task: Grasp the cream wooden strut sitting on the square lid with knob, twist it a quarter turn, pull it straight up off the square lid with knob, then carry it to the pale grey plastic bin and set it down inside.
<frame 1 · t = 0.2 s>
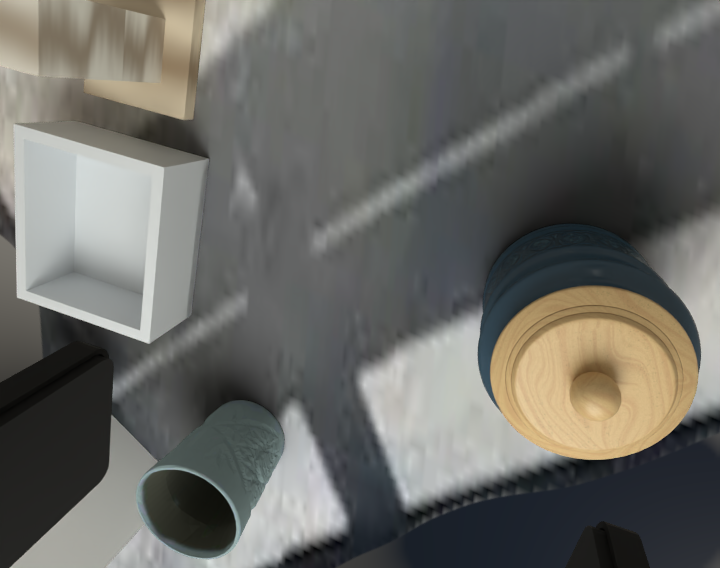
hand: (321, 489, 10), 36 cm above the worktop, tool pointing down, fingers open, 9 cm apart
canister: (563, 295, 44), on the worktop
strut: (136, 45, 45), point 1 cm above the worktop, touching square lid with knob
square lid with knob: (147, 46, 46), on the worktop
bin: (135, 221, 52), on the worktop
milk: (120, 472, 64), on the worktop
teal cup: (247, 434, 57), on the worktop
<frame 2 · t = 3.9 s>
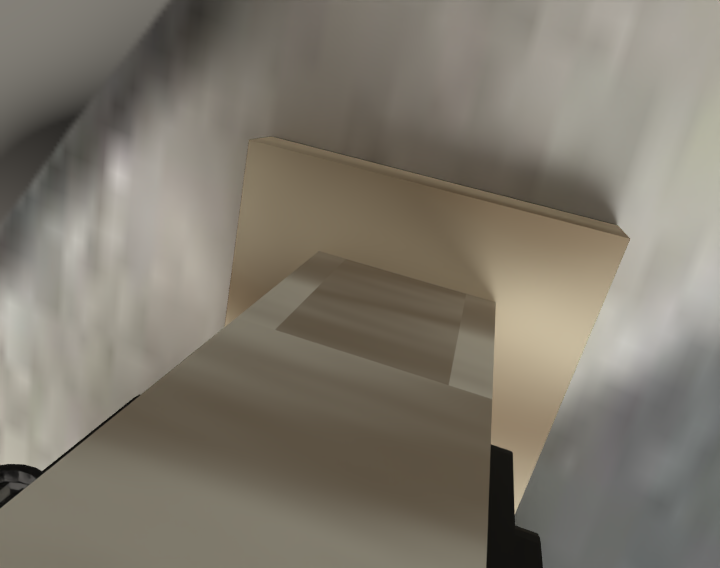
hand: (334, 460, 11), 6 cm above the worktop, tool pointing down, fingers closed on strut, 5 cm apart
strut: (384, 355, 15), point 2 cm above the worktop, touching gripper, square lid with knob
square lid with knob: (394, 334, 17), on the worktop
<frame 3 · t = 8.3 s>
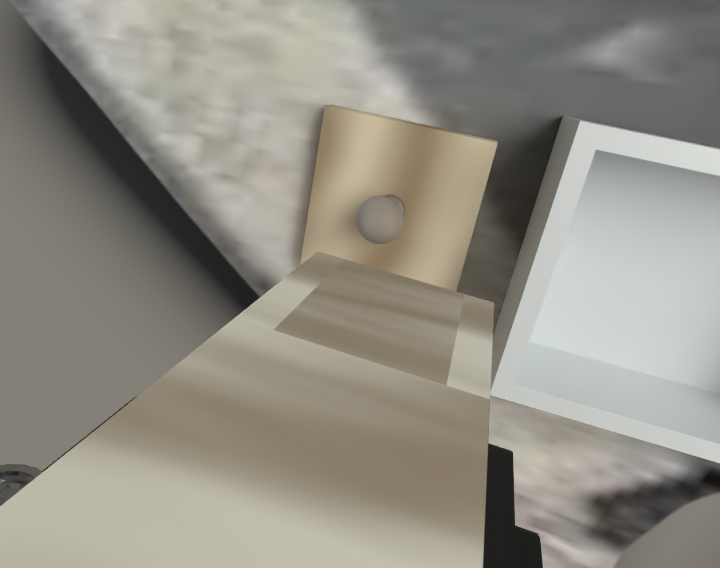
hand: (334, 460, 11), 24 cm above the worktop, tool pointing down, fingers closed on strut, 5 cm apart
strut: (383, 355, 15), point 19 cm above the worktop, touching gripper
square lid with knob: (395, 204, 33), on the worktop
bin: (664, 271, 30), on the worktop
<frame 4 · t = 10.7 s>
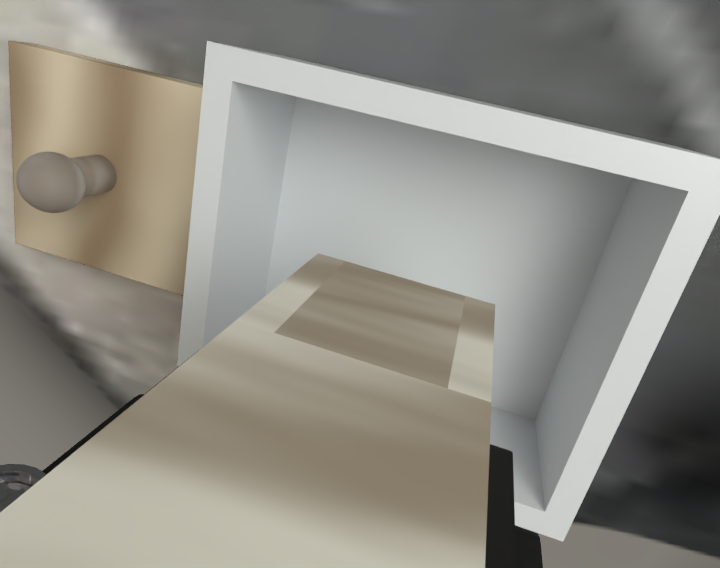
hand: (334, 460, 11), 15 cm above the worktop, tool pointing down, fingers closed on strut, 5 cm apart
strut: (383, 357, 15), point 10 cm above the worktop, touching gripper
square lid with knob: (120, 169, 27), on the worktop
bin: (425, 254, 25), on the worktop
when the fingers open (8 cm above the worktop, at t = 12.8 s): strut drops 2 cm, resting on bin.
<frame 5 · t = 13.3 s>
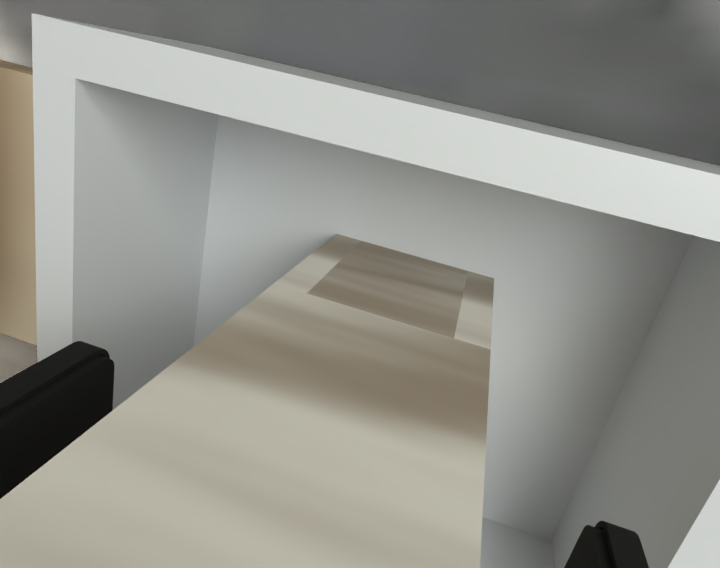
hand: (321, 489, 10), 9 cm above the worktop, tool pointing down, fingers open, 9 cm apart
strut: (394, 327, 17), point 1 cm above the worktop, touching bin
square lid with knob: (6, 197, 21), on the worktop
bin: (402, 316, 18), on the worktop
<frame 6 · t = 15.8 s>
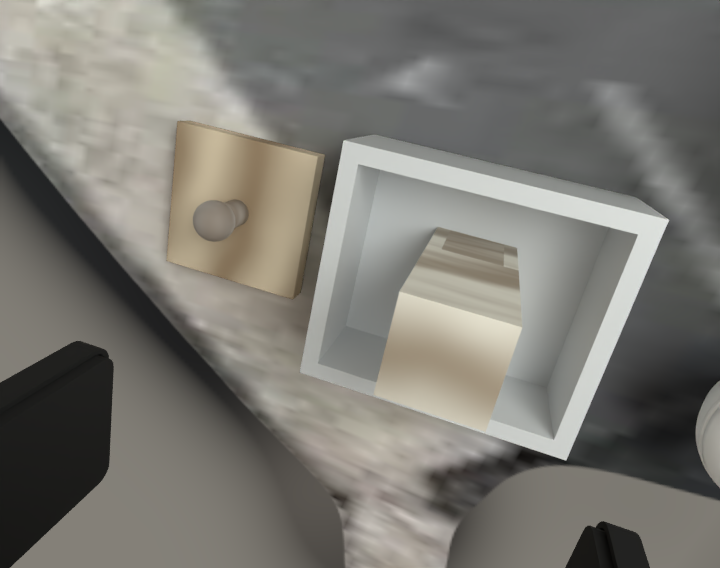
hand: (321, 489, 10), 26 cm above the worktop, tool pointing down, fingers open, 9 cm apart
strut: (466, 274, 34), point 1 cm above the worktop, touching bin
square lid with knob: (246, 208, 38), on the worktop
bin: (468, 270, 35), on the worktop
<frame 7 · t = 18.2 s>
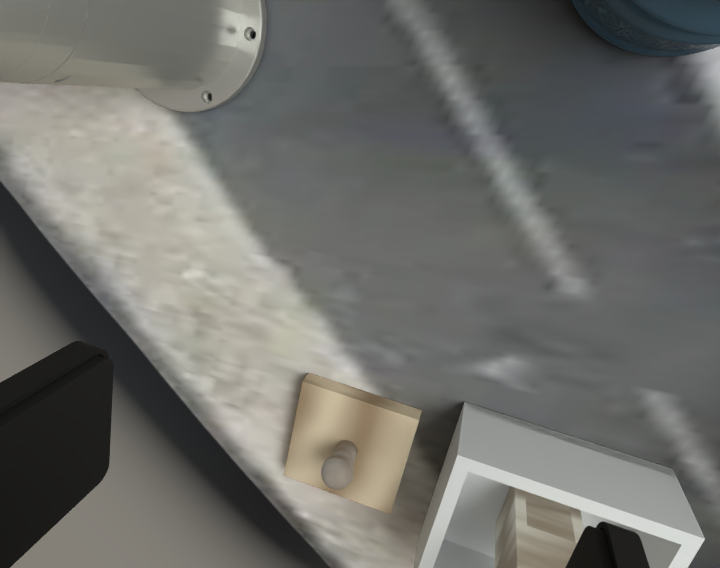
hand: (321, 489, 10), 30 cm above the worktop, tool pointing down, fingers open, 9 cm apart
strut: (535, 510, 43), point 1 cm above the worktop, touching bin
square lid with knob: (352, 439, 46), on the worktop
bin: (535, 502, 44), on the worktop
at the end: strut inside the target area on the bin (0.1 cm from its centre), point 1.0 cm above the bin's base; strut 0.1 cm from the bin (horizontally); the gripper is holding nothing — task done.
